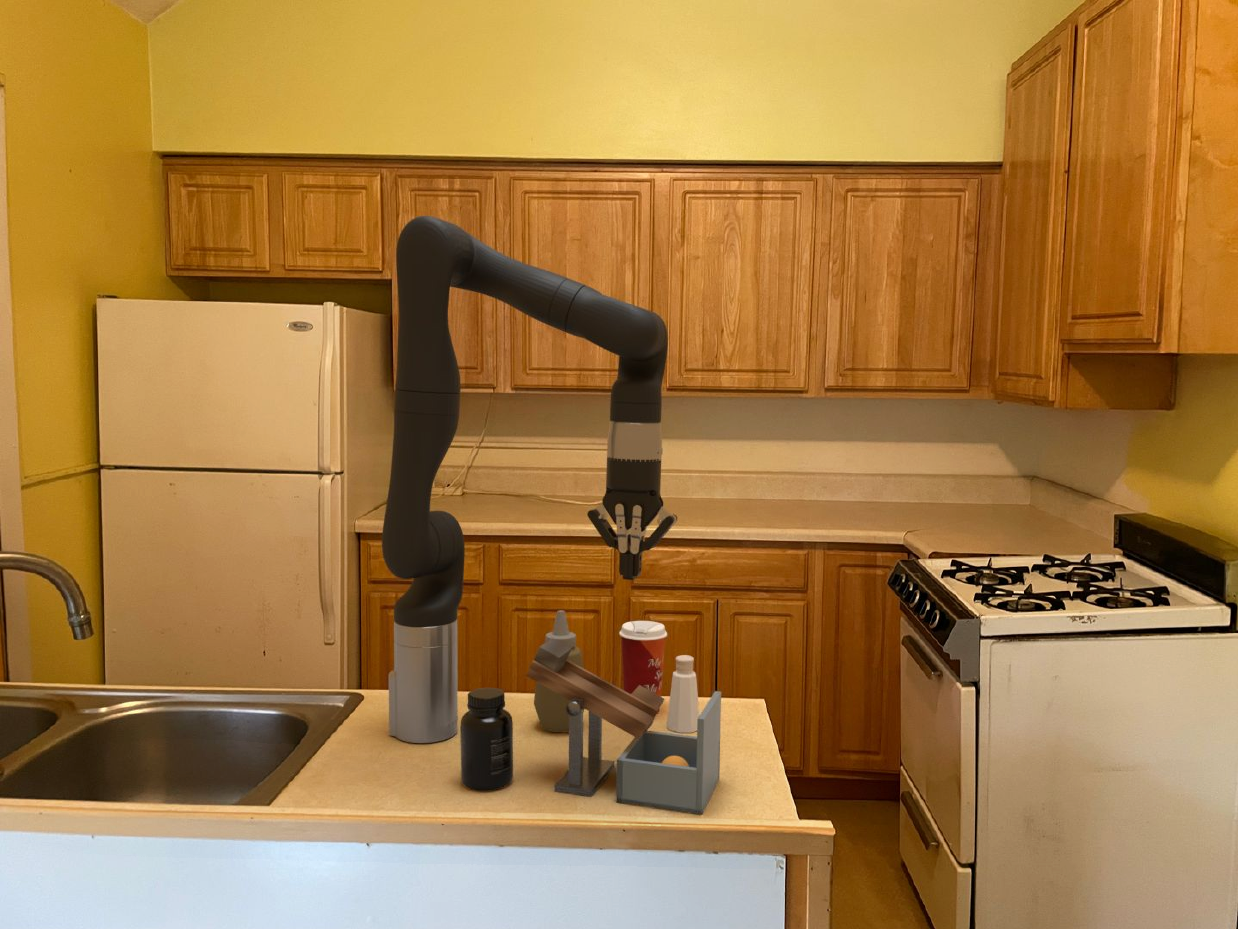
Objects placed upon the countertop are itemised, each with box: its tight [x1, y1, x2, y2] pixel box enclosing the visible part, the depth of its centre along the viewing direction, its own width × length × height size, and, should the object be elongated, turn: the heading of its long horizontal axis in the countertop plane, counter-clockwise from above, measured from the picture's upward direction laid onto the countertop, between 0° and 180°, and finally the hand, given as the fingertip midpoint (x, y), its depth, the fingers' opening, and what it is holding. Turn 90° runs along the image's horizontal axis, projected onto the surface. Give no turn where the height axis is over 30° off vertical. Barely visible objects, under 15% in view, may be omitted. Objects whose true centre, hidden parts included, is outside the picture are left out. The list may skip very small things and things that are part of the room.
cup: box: [615, 690, 722, 816], centre depth 122 cm, size 11×11×12 cm
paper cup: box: [619, 620, 668, 715], centre depth 152 cm, size 8×8×14 cm
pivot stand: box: [553, 698, 615, 798], centre depth 125 cm, size 5×10×12 cm, turn 163°
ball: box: [662, 756, 689, 767], centre depth 122 cm, size 4×4×4 cm
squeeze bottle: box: [533, 609, 586, 733], centre depth 144 cm, size 8×8×18 cm
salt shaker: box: [666, 654, 700, 734], centre depth 145 cm, size 5×5×11 cm
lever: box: [525, 638, 665, 740], centre depth 128 cm, size 17×13×4 cm
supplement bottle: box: [459, 687, 514, 792], centre depth 124 cm, size 7×7×12 cm
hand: (630, 578), depth 131 cm, fingers closed
